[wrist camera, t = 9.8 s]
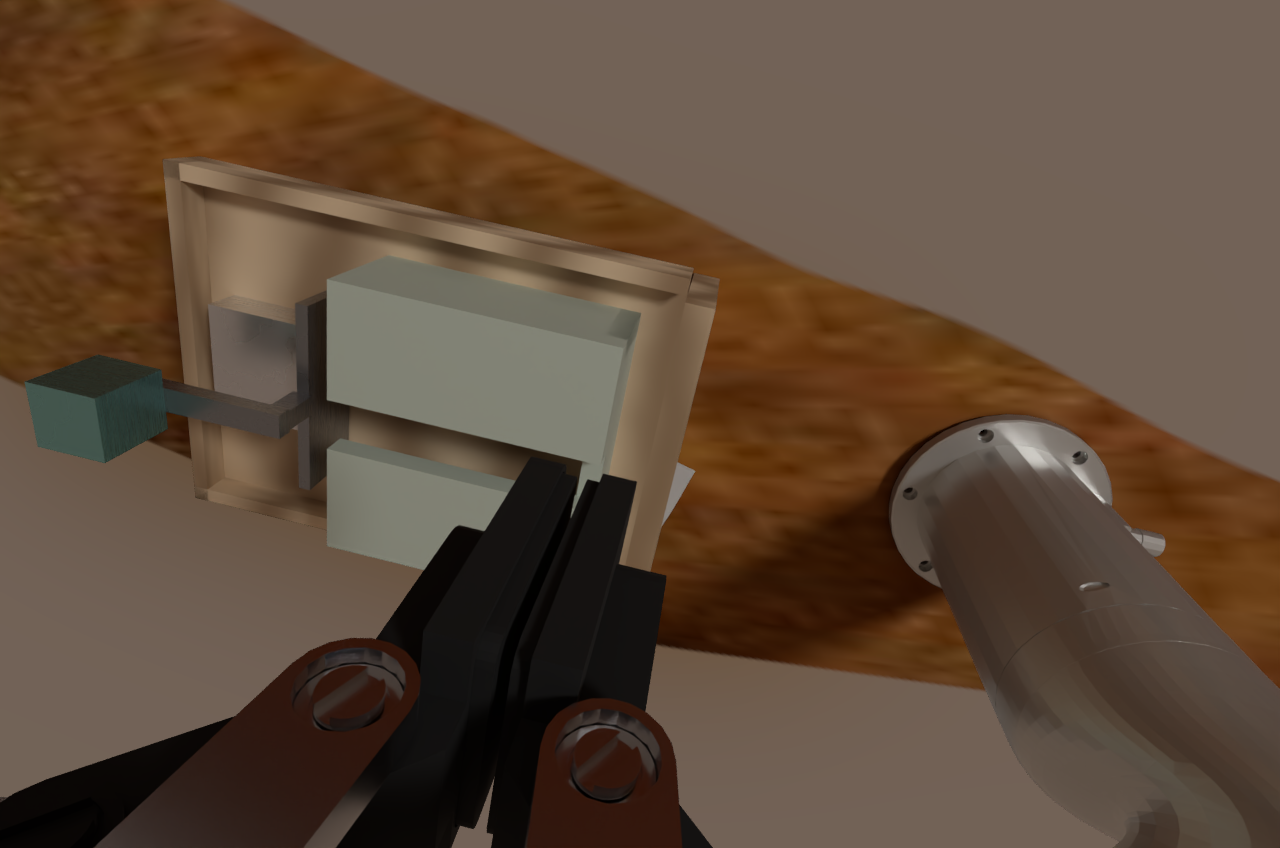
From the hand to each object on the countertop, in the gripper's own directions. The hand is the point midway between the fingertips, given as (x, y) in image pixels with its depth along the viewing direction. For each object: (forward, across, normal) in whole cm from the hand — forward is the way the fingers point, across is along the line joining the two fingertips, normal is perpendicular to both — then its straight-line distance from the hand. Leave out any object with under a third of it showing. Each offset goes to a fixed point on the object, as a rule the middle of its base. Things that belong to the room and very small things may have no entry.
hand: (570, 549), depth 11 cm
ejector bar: (+24, +20, +10) cm, 33 cm away
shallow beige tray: (+31, +12, +10) cm, 35 cm away
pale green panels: (+24, +8, +10) cm, 27 cm away
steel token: (+24, +20, +10) cm, 33 cm away
